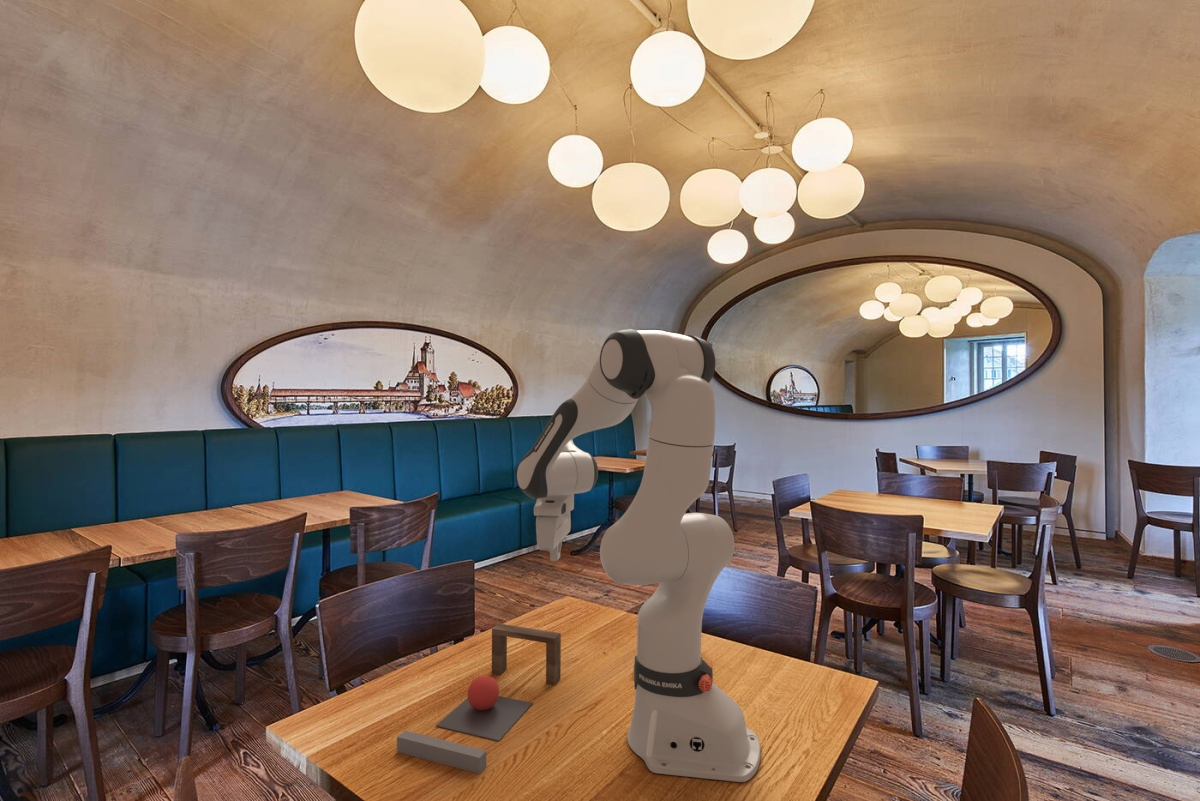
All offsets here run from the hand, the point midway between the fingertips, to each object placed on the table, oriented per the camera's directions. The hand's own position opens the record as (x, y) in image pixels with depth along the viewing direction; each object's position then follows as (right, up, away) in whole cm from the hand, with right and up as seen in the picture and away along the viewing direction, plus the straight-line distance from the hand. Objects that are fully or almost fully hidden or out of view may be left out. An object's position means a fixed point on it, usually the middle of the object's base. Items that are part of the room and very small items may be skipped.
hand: (555, 559), depth 134 cm
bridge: (-5, -21, -14) cm, 26 cm away
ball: (-12, -18, -27) cm, 35 cm away
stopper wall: (-15, -21, -42) cm, 50 cm away
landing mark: (-11, -21, -29) cm, 38 cm away
